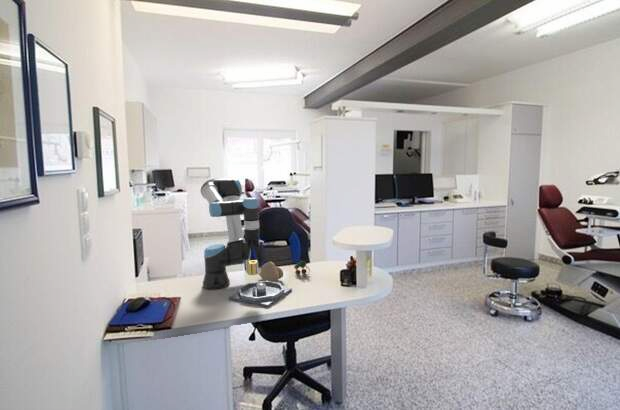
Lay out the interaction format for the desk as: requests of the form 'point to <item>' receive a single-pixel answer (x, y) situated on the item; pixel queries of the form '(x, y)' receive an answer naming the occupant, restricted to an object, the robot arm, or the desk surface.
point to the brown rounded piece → (271, 272)
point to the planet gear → (252, 267)
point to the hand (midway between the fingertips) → (253, 272)
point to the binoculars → (302, 265)
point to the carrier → (261, 293)
